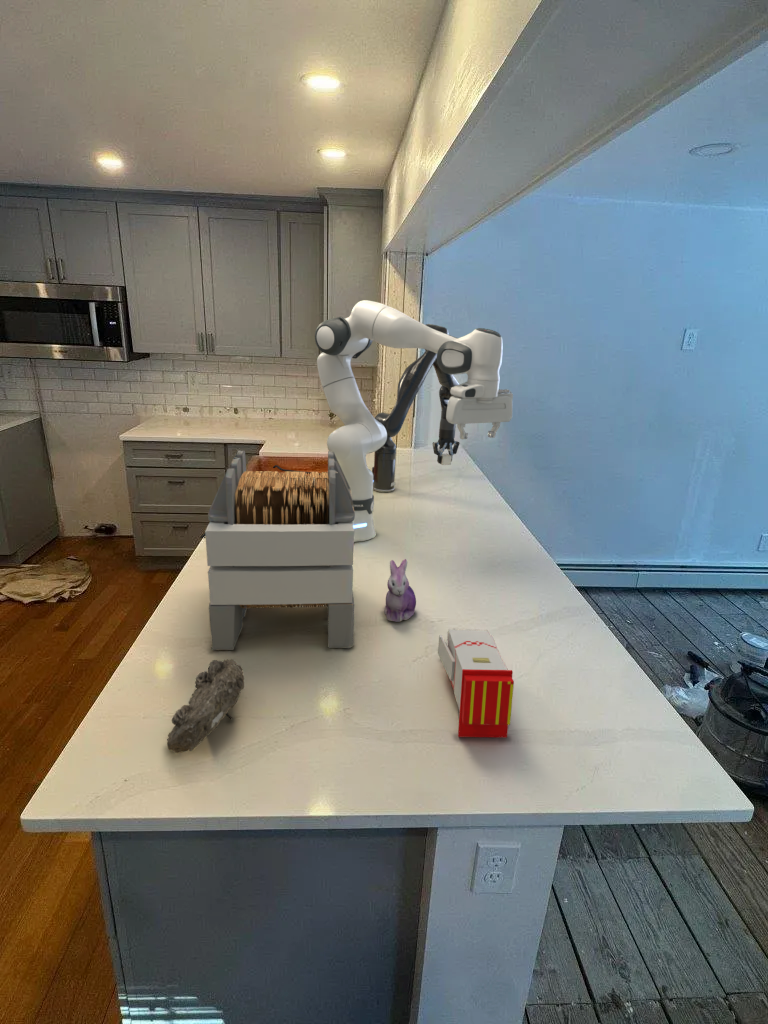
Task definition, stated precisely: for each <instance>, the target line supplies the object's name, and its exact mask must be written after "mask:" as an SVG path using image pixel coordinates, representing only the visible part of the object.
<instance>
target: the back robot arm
mask: <svg viewBox="0 0 768 1024" xmlns="http://www.w3.org/2000/svg"><path fill="white" fill-rule="evenodd" d="M425 325H426V326H428V327H430V328H433V329H435V330H438V331H440V332H443V333H445V334H448V335H450V334H449V329H448V328H446V327H445V326H443V325H437V324H433V323H426V324H425ZM432 368H434V371H435V374H436V377H437V380H438V383H439V385H441V386H440V387H439V390H438V396H439V402H440V408H441V409H440V410H441V411H440V420H439V427H438V428H439V429H438V440H437V441H433V442H432V449H433V454H435V455H436V456H437V459H436V461H437V463H438V464H440V465H441V462H442V454H444V452H445V450H447V454H449V455H451V456H452V457H453V456H454V455H456V454H457V453H458V450H459V446H460V444H461V443H460V441H457V440H455V437H456V428H457V424H452V423H449V422H448V421H447V419H446V412H447V406H448V401H449V399H450V397H452V396H454V395H451V393H450V391H451V388H452V387H454V386H457V385H460V383H459V382H458V380H457V379H456V377H455V375H451V374H447V373H445V372H443V371H442V370H441V369H440V368H439V366H438V363H437V353H434V352H432V351H429V350H426V349H424V352H423V354H422V355H421V356H419V357H418V358H417V359H416V360H414V361H413V362H412V363H410V364H409V365H408V366H407V367H405V369H404V371H403V373H402V374H401V377H400V378H399V381H398V383H397V389H396V390H397V391H396V401H395V404H394V406H393V407H392V409H391V411H390V412H385V411H384V412H383V411H382V412H379V413H377V414H376V415H375V417H374V418H375V419H376V420H377V421H378V422H380V423H381V424H382V425H383V426H384V427H385V429H386V432H387V440H386V442H385V444H384V445H383V446H382V447H381V448H379V449H378V450H377V451H375V452H373V454H374V455H373V456H374V458H373V460H374V461H373V462H374V463H373V466H372V468H371V471H372V473H373V491H375V492H378V493H391V492H394V491H395V485H396V481H395V480H396V462H397V444H396V443H395V442H394V441H393V439H392V438H393V437H396V436H397V435H398V434H399V433H400V431H401V429H402V427H403V425H404V423H405V420H406V417H407V415H408V413H409V411H410V408H411V406H412V404H413V403H414V401H415V399H416V397H417V394H419V391H420V390H421V388H422V386H423V384H424V382H425V380H426V378H427V376H428V374H429V372H430V371H431V369H432ZM452 462H453V458H452V459H451V463H452ZM272 468H273V469H275V468H276V469H278V470H279V471H280V472H285V471H286V472H287V471H288V472H304V471H301V470H295V469H294V470H293V469H285V468H282V467H280V466H279V465H278V464H274V465H273V466H272ZM306 472H307V475H308V472H309V475H310V472H311V471H306ZM320 473H321V472H319V476H320Z"/></svg>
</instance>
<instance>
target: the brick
mask: <svg viewBox="0 0 768 1024" xmlns="http://www.w3.org/2000/svg"><path fill="white" fill-rule="evenodd" d="M451 459H452V460H453V456H451V455H449V453H448V452H447V453H442V462H441V464H440V465H441V466H451V465H452V462H451Z"/></svg>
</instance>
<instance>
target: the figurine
mask: <svg viewBox="0 0 768 1024" xmlns="http://www.w3.org/2000/svg"><path fill="white" fill-rule="evenodd" d="M407 567H408V559H406V558H404V559H403V560H402V561H401V563H400V565H399V566H398V565H397V563H396V562H395V561H394V560H393V559H391V560H390V561H389V570H390V576H389V578H388V579H387V589H388V591H387V592H386V594H385V595H386V596H385V607H384V615H385V616H386V620H387V621H391V622H395V623H400V622H402V621H406V620H409V619H410V618H411V617H413V616H414V615H415V610H416V606H417V597H416V593H415V591H414V590H413V587H411V586H410V582H409V579H408V577H407V574H406V571H407Z"/></svg>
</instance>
